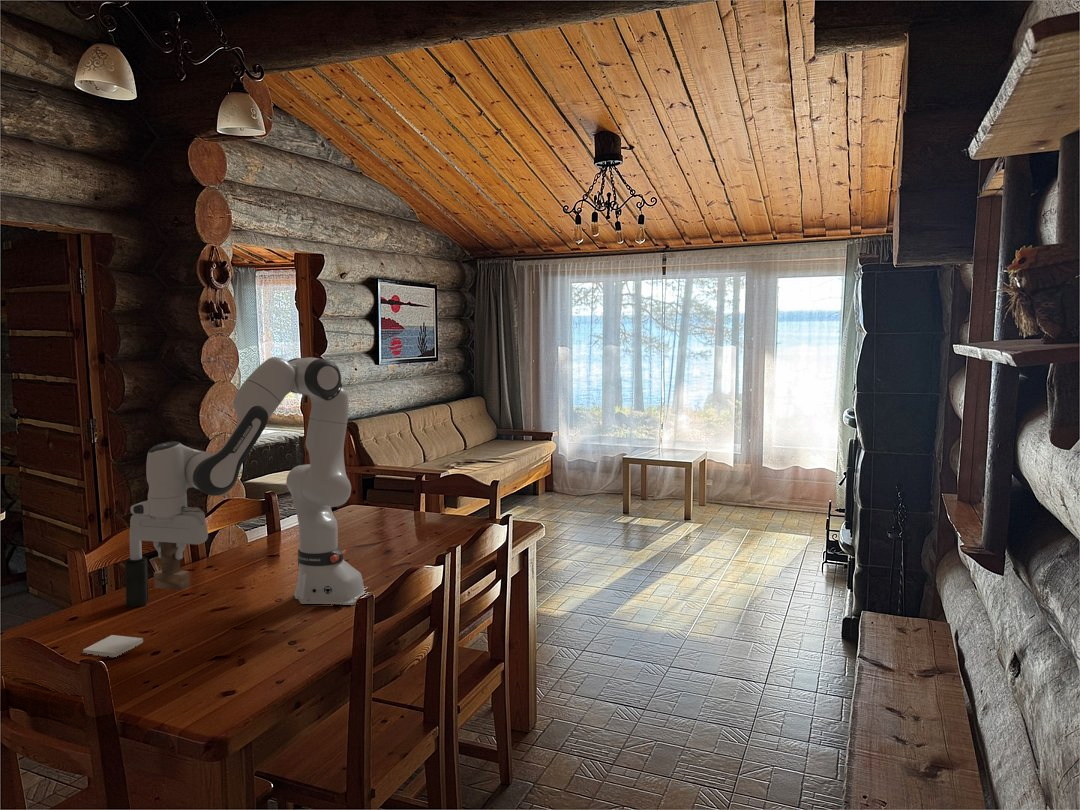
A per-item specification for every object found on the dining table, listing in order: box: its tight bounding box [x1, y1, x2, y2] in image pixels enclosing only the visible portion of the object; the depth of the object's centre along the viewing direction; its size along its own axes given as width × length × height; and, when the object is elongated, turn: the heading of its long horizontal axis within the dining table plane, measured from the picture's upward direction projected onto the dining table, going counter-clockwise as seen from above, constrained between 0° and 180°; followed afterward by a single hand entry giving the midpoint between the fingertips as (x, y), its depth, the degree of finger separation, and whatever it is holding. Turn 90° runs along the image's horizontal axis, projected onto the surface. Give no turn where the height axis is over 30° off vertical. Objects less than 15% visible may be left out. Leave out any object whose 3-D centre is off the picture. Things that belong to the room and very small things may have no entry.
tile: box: [82, 634, 144, 658], centre depth 176 cm, size 9×2×9 cm
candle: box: [124, 530, 149, 608], centre depth 204 cm, size 5×5×25 cm
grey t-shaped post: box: [153, 542, 191, 591], centre depth 184 cm, size 8×3×14 cm, turn 79°
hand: (170, 558), depth 184 cm, fingers closed on grey t-shaped post, 3 cm apart
